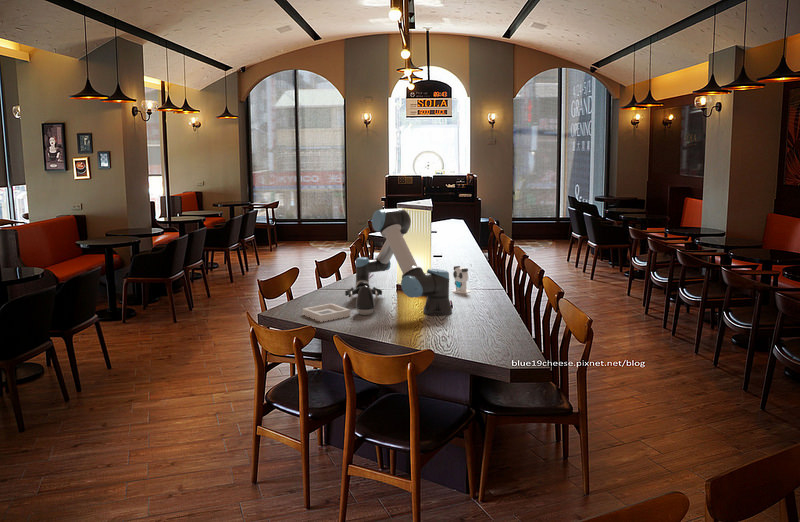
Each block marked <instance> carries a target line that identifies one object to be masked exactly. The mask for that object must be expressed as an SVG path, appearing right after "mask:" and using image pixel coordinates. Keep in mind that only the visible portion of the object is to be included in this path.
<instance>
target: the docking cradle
mask: <svg viewBox="0 0 800 522" xmlns="http://www.w3.org/2000/svg"><path fill="white" fill-rule="evenodd" d="M304 315H305V316H304ZM302 316H304V317H307V318H309V317H310V319H313V320H314V319H315V320H314V321H317V322H319V321H320V323H324V322H329V321H333V319H334V320H338V318H339V319H344V318H348V316H349V317H351V309H350V308H346V307H345V306H340V305H337V304H334V303H332V302H331V303H326V304H321V305H315V306H310V307H303V308H302ZM343 317H344V318H343ZM328 320H329V321H328ZM323 321H324V322H323Z"/></svg>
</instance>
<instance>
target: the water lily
mask: <svg viewBox="0 0 800 522" xmlns="http://www.w3.org/2000/svg"><path fill="white" fill-rule="evenodd" d="M374 275H375V274H371V273H369V280H371V279H372V278H373V277H374ZM354 286H355V287H356V284H355V285H354Z"/></svg>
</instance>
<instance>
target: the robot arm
mask: <svg viewBox="0 0 800 522" xmlns="http://www.w3.org/2000/svg"><path fill="white" fill-rule="evenodd" d="M411 223H412V221H411V216H410V214H409V212H408V211H407V210H405V209H404V208H399V207H398V208H385V209H383V208H382V209H378V210H375V211H374V213H373V214H372V218H371V224H372V225H371V226H372V229H373V231H375V232H377V233H378V232H380V235H381V236H382V237H383V238H385V239H386V240H385V241H384V244H383V245H382V247H381V248H380V251H379V252H378V255H377V257H376V258H375V259H369V257H365V256H359V257H357V258H356V259H355V274H356V275H355V285H356V286H355V288H354V287H350V288H349V289H347V290H344V292H345V296H348V298H350V300H353V296H354V295H358V292H359V290H360V288H361V287H363V286H365V285H366V286H368V287H369V288H370V289H371V291H372V294H373V296H374V295H375V299H378V296H382V294H383V290H382V289H379V288H377V287H376V286H373V287H372V288H371V287H370V279H369V273H376V272H377V273H379V272H385V271H389V270H390V268H391V266H392V265H391V259H392V257H393V256H394V258H395V260H396V262H397V264H398V266H399V268H400V270H401V272H402V274H401V280H400V286H401V290H402V292H403V294H404V295H405V296H406V297H408V298H419V297H425V296H426V300H425V303H424V304H425V305H424V306H423V313H424V314H425V315H430V316H447V315H451V314H452V313H453V307H452V306H451V305H452V304H451V301H450V273H449V272H448V271H447V270H445V269H440V268H439V269H438V268H437V269H436V268H428V269H427V270H426V272H424V270H423V268H422V267H421V266H418V264H417V262H416V260H415V258H414V256H413V254H412V252H411V251H410V248H409V246H408V244H407V241H406V240H405V238H404V235H407V233H408V232H409V230H410V227H411Z"/></svg>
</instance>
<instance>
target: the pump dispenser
mask: <svg viewBox="0 0 800 522" xmlns="http://www.w3.org/2000/svg"><path fill="white" fill-rule="evenodd" d="M369 287H370V286H369ZM369 287H368V286H366V285H365V286H363V287H361V288H360V290H359V292H358V294H357V296H356V299H355V300H356V301H355V308H356V311H357V313H358V314H360V315H361V316H369V315H371V314H373V313H374V311H375V307H376V303H375V298H374V294H372V291H371V289H372V288H371V287H370V288H371V289H370V288H369Z"/></svg>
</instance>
